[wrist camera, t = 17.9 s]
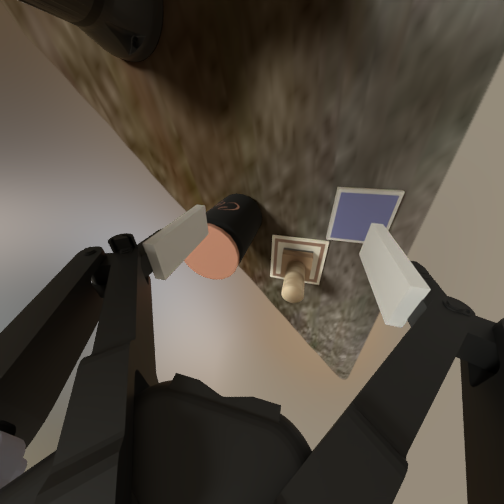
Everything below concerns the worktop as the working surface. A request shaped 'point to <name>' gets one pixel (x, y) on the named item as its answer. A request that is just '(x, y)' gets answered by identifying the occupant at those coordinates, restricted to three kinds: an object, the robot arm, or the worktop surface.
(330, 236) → the ink pad
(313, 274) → the print card
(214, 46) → the worktop surface
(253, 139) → the worktop surface
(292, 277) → the stamp
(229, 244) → the coffee jar
